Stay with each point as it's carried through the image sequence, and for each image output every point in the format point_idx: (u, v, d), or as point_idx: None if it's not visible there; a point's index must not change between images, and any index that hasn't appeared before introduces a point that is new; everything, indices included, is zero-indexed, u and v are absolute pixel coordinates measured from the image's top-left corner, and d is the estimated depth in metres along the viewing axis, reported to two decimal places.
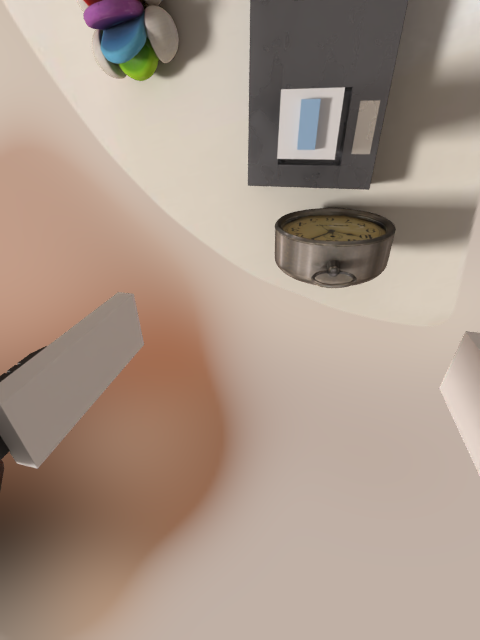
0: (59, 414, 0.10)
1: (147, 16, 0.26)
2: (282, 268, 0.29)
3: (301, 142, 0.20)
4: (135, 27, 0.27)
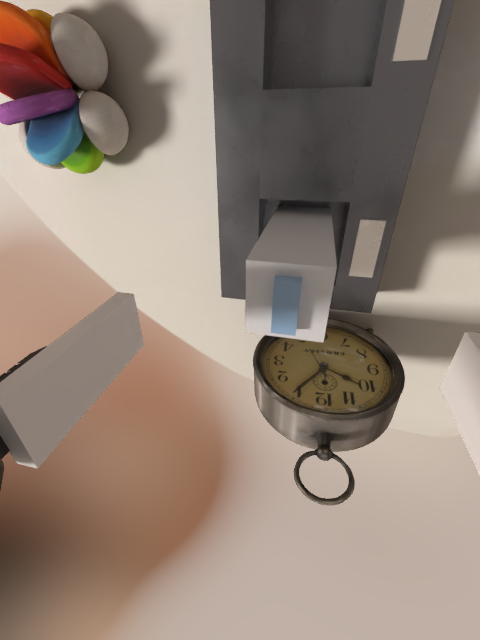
0: (59, 414, 0.10)
1: (82, 108, 0.20)
2: (262, 413, 0.23)
3: (276, 326, 0.14)
4: (67, 121, 0.20)
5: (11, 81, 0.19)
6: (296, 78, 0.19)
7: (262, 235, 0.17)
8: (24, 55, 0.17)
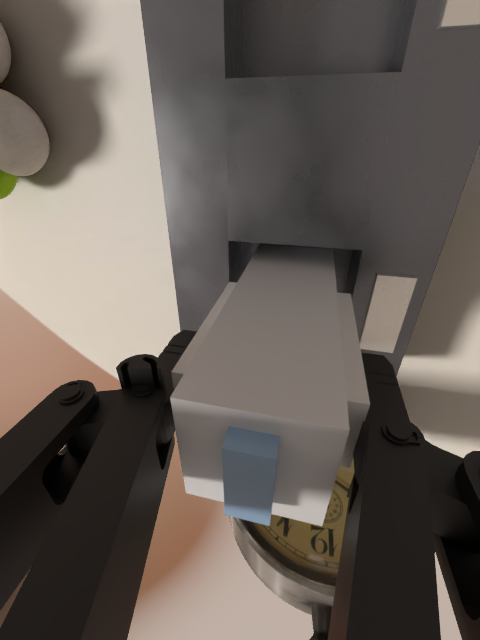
0: None
1: None
2: (235, 538, 0.16)
3: (234, 509, 0.08)
4: None
5: None
6: (280, 63, 0.13)
7: (221, 315, 0.10)
8: None
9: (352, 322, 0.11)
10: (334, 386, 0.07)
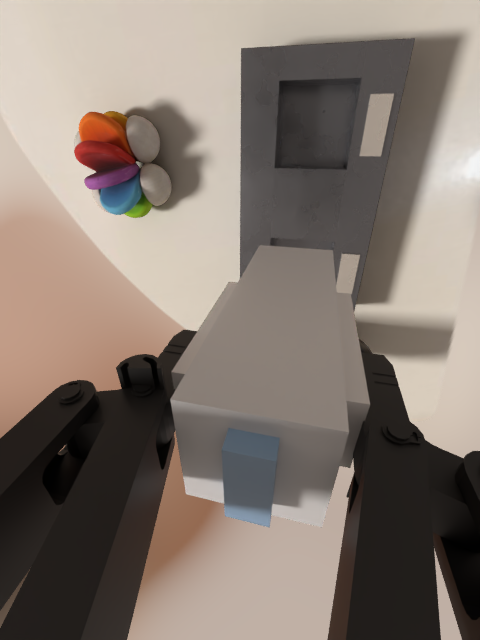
0: None
1: (142, 177, 0.29)
2: None
3: (234, 510, 0.08)
4: (132, 185, 0.29)
5: (97, 161, 0.28)
6: (296, 156, 0.28)
7: (221, 316, 0.10)
8: (111, 147, 0.26)
9: (352, 322, 0.11)
10: (333, 388, 0.07)
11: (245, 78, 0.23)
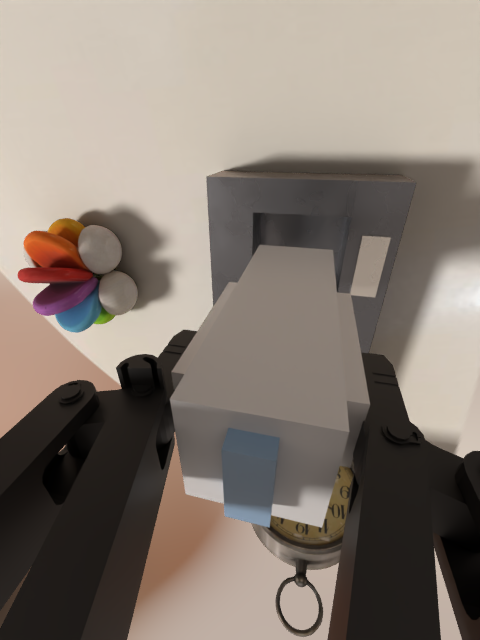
0: None
1: (101, 292, 0.25)
2: None
3: (233, 510, 0.08)
4: (89, 302, 0.26)
5: None
6: None
7: (221, 316, 0.10)
8: (58, 274, 0.23)
9: (352, 322, 0.11)
10: (334, 387, 0.07)
11: (213, 207, 0.20)
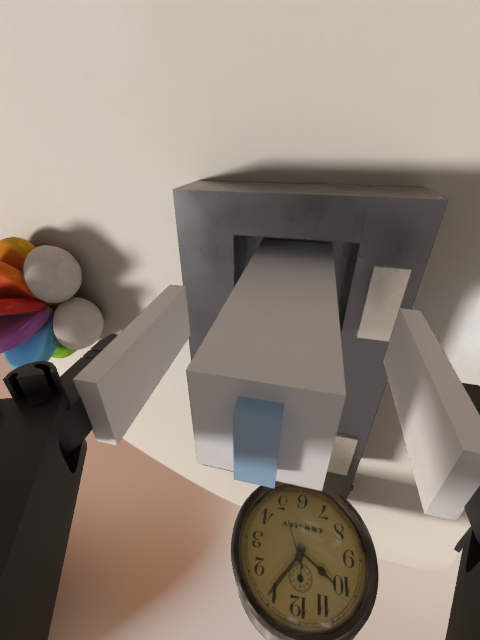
0: (132, 396, 0.10)
1: (55, 325, 0.21)
2: (240, 597, 0.23)
3: (242, 473, 0.09)
4: (42, 336, 0.21)
5: None
6: None
7: (228, 301, 0.11)
8: None
9: (437, 346, 0.10)
10: (332, 361, 0.08)
11: (183, 227, 0.15)
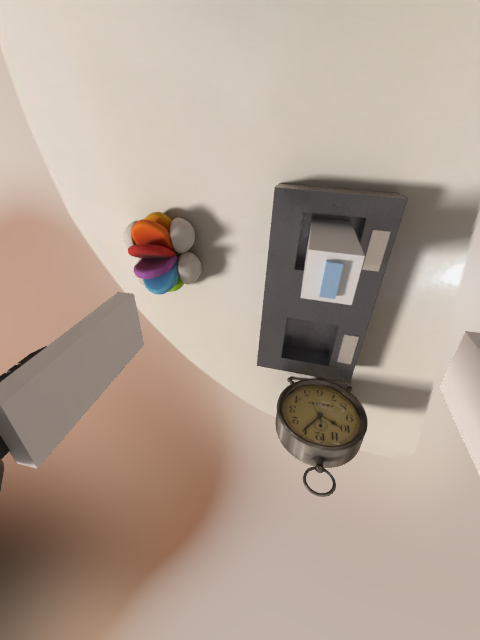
0: (59, 414, 0.10)
1: (180, 266, 0.36)
2: (281, 442, 0.38)
3: (323, 292, 0.23)
4: (171, 272, 0.36)
5: (145, 255, 0.34)
6: None
7: (311, 236, 0.26)
8: (159, 249, 0.33)
9: None
10: (359, 250, 0.23)
11: (276, 207, 0.30)
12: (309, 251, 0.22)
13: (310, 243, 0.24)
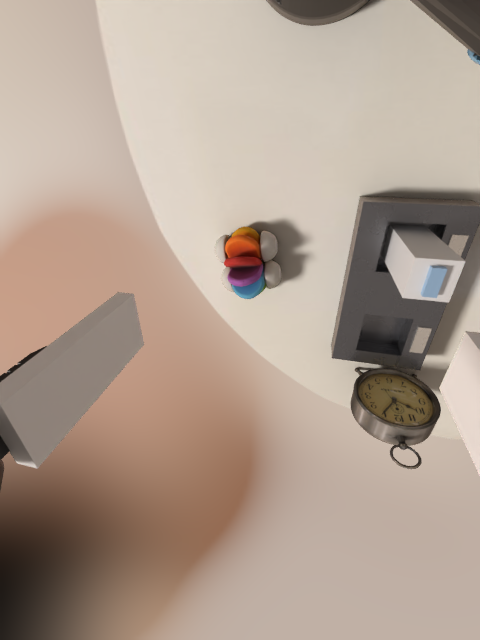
0: (59, 414, 0.10)
1: (266, 273, 0.40)
2: (360, 425, 0.42)
3: (426, 292, 0.27)
4: (259, 279, 0.40)
5: (239, 266, 0.39)
6: None
7: (406, 244, 0.30)
8: (253, 260, 0.37)
9: None
10: (457, 256, 0.27)
11: (363, 218, 0.34)
12: (415, 259, 0.27)
13: (411, 251, 0.28)
